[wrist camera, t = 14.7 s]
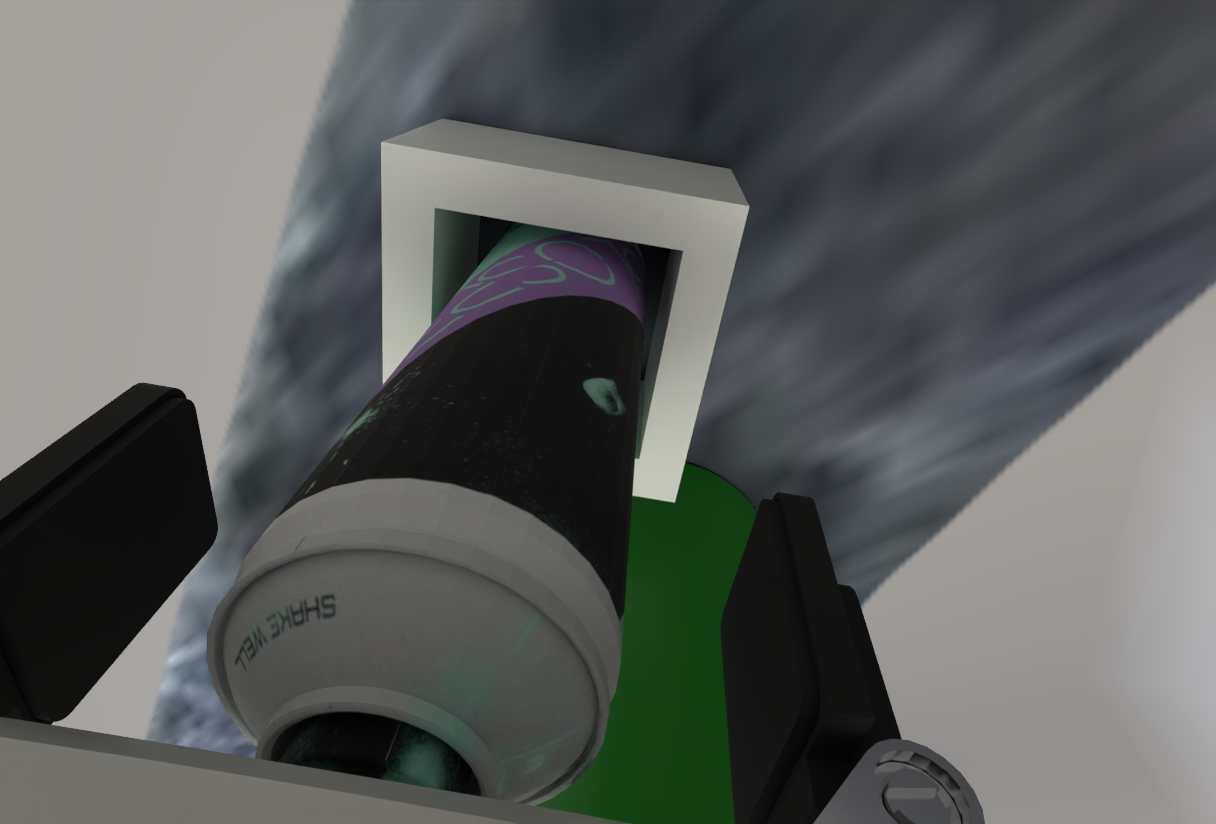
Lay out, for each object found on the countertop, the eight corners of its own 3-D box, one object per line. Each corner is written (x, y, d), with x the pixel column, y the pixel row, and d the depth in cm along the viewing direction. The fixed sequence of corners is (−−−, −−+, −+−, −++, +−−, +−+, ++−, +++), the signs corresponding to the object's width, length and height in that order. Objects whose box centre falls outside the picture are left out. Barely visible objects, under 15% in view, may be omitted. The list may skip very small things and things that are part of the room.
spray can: (665, 223, 23) (670, 813, 6) (625, 366, 26) (543, 1065, 8) (507, 181, 23) (-7, 665, 5) (483, 330, 25) (87, 976, 8)
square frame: (442, 118, 22) (381, 142, 17) (731, 169, 22) (749, 206, 17) (434, 377, 27) (383, 453, 22) (672, 418, 27) (675, 502, 22)
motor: (535, 608, 32) (382, 1292, 15) (534, 446, 28) (315, 1144, 10) (752, 627, 32) (862, 1354, 14) (785, 466, 27) (1001, 1226, 10)
